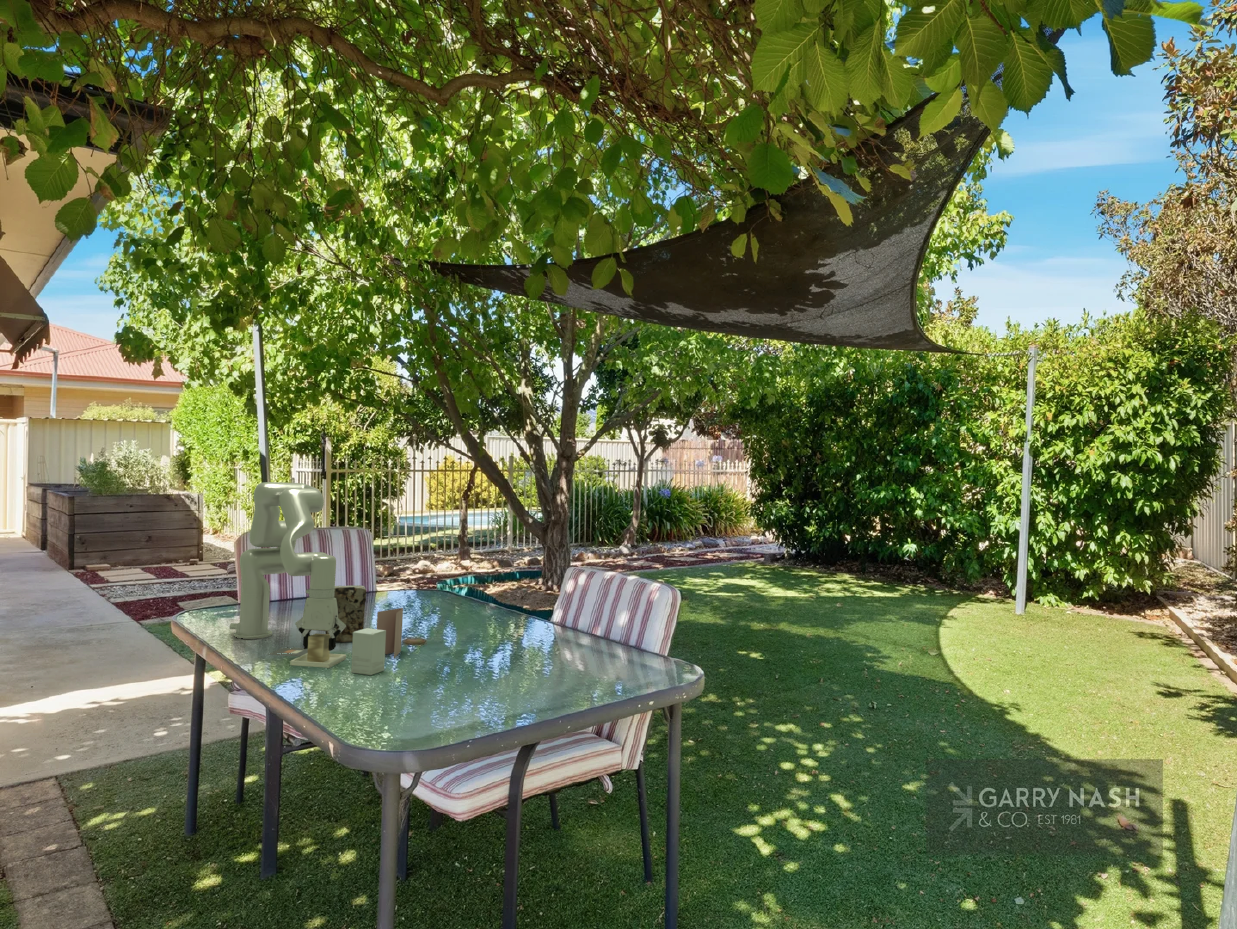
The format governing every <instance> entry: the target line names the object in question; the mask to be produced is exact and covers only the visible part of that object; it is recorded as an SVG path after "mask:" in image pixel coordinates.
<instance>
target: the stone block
mask: <svg viewBox="0 0 1237 929" xmlns="http://www.w3.org/2000/svg"><path fill="white" fill-rule="evenodd" d="M334 598H336V600H337V607H338V619H340V620H341V621H342V622H343V623H344V624H345V625H346V627H345V628H344V630H343V631H342V632H341V633H340V634H339V635H338V636H337V637H336V644H337V643H350V642H351V643H352V642H353V632H355V631H359V630H362V629H365V628H364V627H365V626H364V624H365V613H366V602H367V588H366V587H365V586H364V585H352V584H351V585H335V595H334ZM335 629H336V631H337V630H338V629H339V626H338V625H337V627H336V628H335ZM324 632H325V633H324V634H329V632H328V631H324Z"/></svg>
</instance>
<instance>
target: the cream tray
mask: <svg viewBox="0 0 1237 929" xmlns="http://www.w3.org/2000/svg"><path fill="white" fill-rule="evenodd" d="M307 654H308V653H306V654H304V655H302V656H300V657H298V656H297V657H296V658H293V659H291V660H290V661H289V666H298V667H311V668H327V669H331V668H332V667H334V666H336V665H338V664H340V663H341V662H343V661H346V660H347V654H345V653H344V654H343V653H330V657H329V660H327V661H325V662H308V661H307Z"/></svg>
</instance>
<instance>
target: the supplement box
mask: <svg viewBox="0 0 1237 929" xmlns="http://www.w3.org/2000/svg"><path fill="white" fill-rule="evenodd" d="M385 641H386V630H378V629H377V628H370V627H367V628H364V629H362V630H359V631H355V632H353V642H351V643H352V645H351V646H352V648H351V668H350V669H351V671H350V673H352V674H361V675H367V676H373V675H375V674H378V673H381V672H384V671H385V664H386V663H385V662H386V661H385V659H386V655H385Z"/></svg>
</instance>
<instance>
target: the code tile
mask: <svg viewBox="0 0 1237 929" xmlns="http://www.w3.org/2000/svg"><path fill="white" fill-rule="evenodd" d="M282 648H283V647H280V648H279V649H276V650H274V651H272V652H269V653H270V654H269V653H267V654H266V655H270V656H281V657H283V656H285V657H286V656H287V657H288V656H289V657H297V658H298V657H300V656H302V655H304V654H306V653H308V649H304V647H297V646H293V648H291V649H290V648H283V649H282ZM277 653H281V655H280V654H277ZM282 653H287V654H282ZM289 653H290V654H289ZM291 653H292V654H291Z"/></svg>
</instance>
